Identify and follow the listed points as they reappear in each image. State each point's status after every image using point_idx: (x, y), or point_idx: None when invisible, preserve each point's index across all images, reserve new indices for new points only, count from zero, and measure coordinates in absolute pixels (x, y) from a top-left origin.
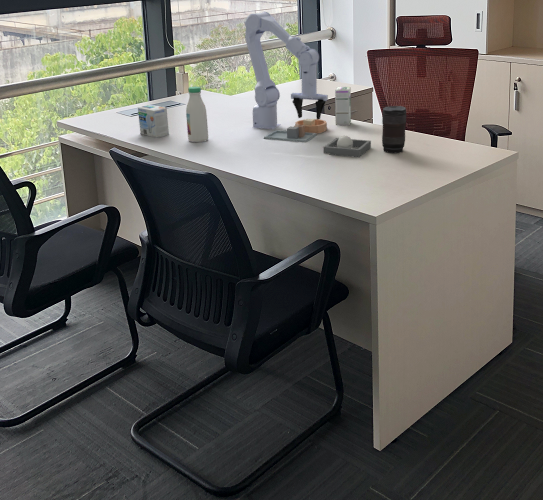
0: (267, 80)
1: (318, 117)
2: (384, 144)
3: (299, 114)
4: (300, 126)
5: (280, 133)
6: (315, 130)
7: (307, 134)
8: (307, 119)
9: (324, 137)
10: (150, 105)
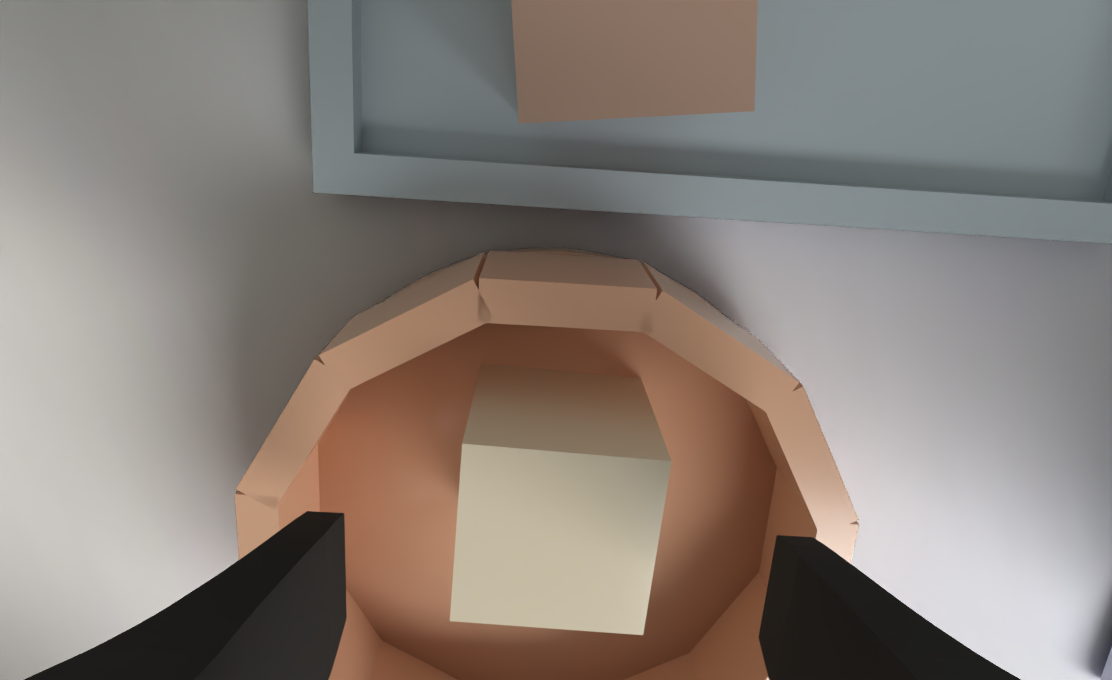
0: None
1: (278, 533)
2: None
3: (814, 572)
4: None
5: (1021, 139)
6: (372, 312)
7: (486, 158)
8: (606, 574)
9: (158, 146)
10: None
